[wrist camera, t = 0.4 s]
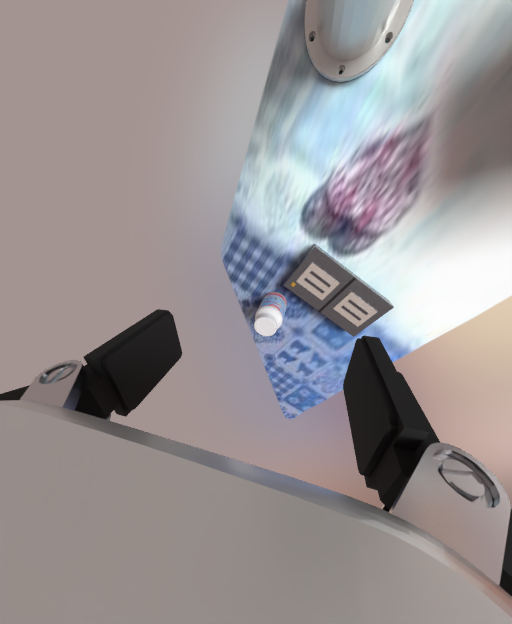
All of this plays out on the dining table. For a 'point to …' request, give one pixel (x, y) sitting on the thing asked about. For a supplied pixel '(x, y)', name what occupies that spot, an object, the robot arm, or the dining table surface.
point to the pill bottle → (270, 314)
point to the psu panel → (336, 292)
